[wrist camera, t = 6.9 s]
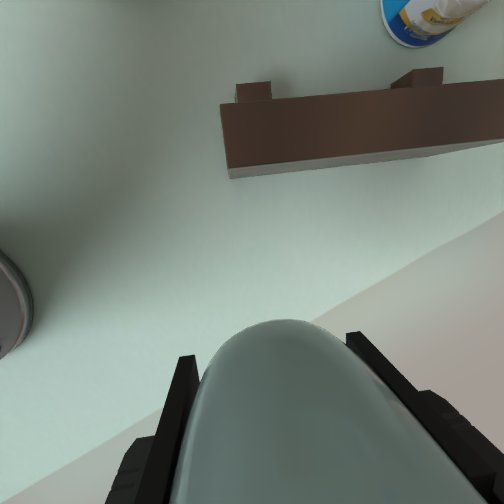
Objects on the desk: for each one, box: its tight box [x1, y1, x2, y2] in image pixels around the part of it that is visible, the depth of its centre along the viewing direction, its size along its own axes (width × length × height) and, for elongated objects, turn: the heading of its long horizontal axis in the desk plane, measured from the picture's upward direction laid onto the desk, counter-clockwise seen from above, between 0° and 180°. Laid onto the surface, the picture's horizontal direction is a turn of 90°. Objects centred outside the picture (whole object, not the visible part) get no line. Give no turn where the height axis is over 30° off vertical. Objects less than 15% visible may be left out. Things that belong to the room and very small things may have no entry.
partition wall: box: [220, 67, 504, 179], centre depth 18 cm, size 23×8×13 cm, turn 97°
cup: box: [168, 319, 488, 504], centre depth 8 cm, size 8×8×10 cm
